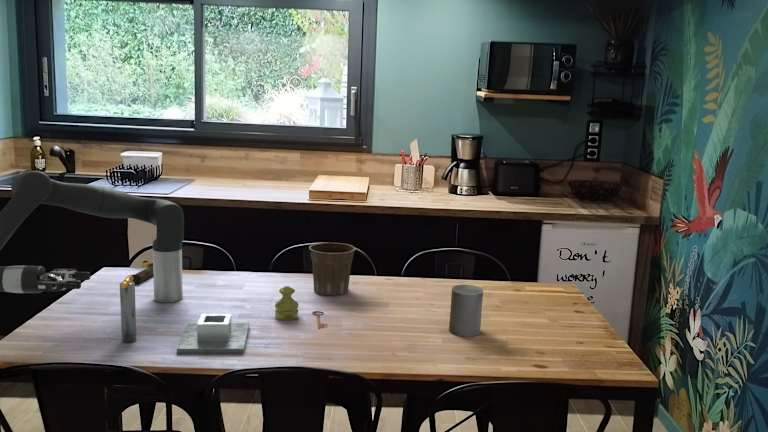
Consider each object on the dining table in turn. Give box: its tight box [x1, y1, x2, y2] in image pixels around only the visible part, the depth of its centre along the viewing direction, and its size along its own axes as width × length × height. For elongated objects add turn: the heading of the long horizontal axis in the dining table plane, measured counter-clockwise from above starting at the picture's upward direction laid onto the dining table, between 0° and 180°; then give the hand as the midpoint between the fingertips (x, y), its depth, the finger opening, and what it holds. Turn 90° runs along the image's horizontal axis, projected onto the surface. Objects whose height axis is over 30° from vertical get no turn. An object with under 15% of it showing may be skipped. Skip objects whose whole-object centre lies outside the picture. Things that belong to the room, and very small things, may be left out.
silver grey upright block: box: [119, 274, 138, 344], centre depth 207 cm, size 9×4×18 cm, turn 6°
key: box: [311, 310, 328, 330], centre depth 231 cm, size 6×1×15 cm
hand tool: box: [131, 262, 154, 285], centre depth 268 cm, size 19×4×5 cm, turn 167°
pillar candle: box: [448, 284, 484, 338], centre depth 224 cm, size 10×10×15 cm
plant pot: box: [308, 242, 356, 297], centre depth 259 cm, size 16×16×16 cm
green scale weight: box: [274, 285, 299, 321], centre depth 232 cm, size 7×7×10 cm
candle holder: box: [176, 313, 250, 355], centre depth 210 cm, size 20×18×6 cm
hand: (85, 280), depth 204 cm, fingers open, 8 cm apart
